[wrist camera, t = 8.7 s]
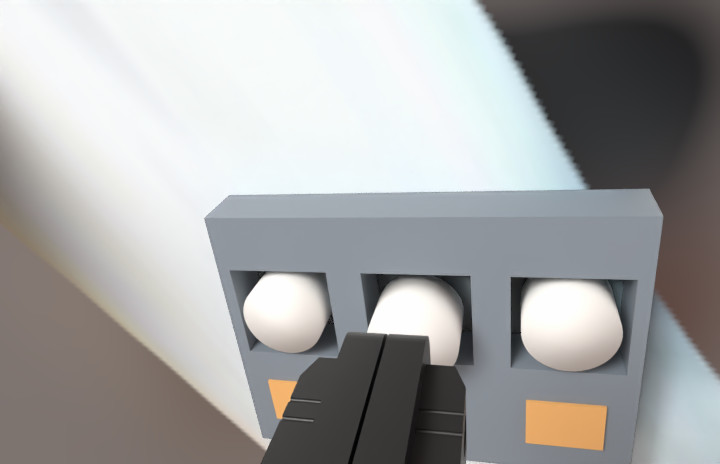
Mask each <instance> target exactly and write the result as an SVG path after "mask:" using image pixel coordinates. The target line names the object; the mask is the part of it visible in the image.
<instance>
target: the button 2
mask: <svg viewBox="0 0 720 464" xmlns="http://www.w3.org/2000/svg"><path fill="white" fill-rule="evenodd" d="M521 337H522V341H523V344H524V346H525V348H526V349H527V351H528V352H529V353H530V355H531V356H533V357H534V358H535V359H536V360H537V361H539V362H540V363H542V364H544V365H546V366H548V367H551V368H554V369H557V370H562V371H584V370H589V369H592V368H595V367H597V366H600V365H602V364H603V363H605V362H607V361H608V360H609V359H610V358H612V357H613V356H614V354H615V353H616V352H617V351H618V349H619V347H620V345H621V342H622V338H623V329H622V324H621V321H620V317H619V313H618V309H617V306H616V302H615V298H614V295H613V291H612V288H611V285H610V284H609V282H608V280H607V279H577V278H535V277H529V278H528V279H527V280H526V282H525V283H524V285H523V288H522V291H521Z"/></svg>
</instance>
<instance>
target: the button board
mask: <svg viewBox="0 0 720 464" xmlns="http://www.w3.org/2000/svg"><path fill="white" fill-rule="evenodd" d="M204 219H205V223H206V227H207V231H208V234H209V238H210V242H211V246H212V249H213V253H214V257H215V260H216V264H217V268H218V272H219V275H220V279H221V283H222V287H223V290H224V294H225V298H226V302H227V305H228V309H229V313H230V316H231V320H232V324H233V328H234V331H235V335H236V339H237V343H238V346H239V350H240V354H241V358H242V361H243V365H244V369H245V373H246V376H247V380H248V384H249V387H250V391H251V395H252V399H253V402H254V406H255V410H256V414H257V417H258V421H259V425H260V429H261V432H262V436H263V438H269V439H272V437H273V435H274V433H275V431H276V428H277V426H278V424H279V422H280V420H282V415H283V413H284V410H285V408H286V406H287V404H288V402H290V397H291V395H292V393H293V390H294V388H295V386H296V384H297V381H298V379H299V377H300V375H301V374H302V373H303V372H304V371H305V370H306V369H307V368H308V367H309V366H310V365H311V364H313V363H314V362H315V361H316V360H317V359H318V358H319V357H324V358H337V357H338V354H339V352H340V349H341V346H342V344H343V341H344V338H345V336H346V334H347V333H348V332H365V333H367V331H368V327H369V325H370V322H371V319H372V317H373V314H374V311H375V309H376V306H377V303H378V301H379V290H378V282H377V274H408V275H450V276H470V278H471V304H472V331H462V332H461V339H460V346H459V353H458V357H457V360H456V362H455V364H454V365H453V366H455V367H456V369H457V371H458V373H459V375H460V377H461V379H462V381H463V383H464V385H465V387H466V432H467V454H466V460H469V461H478V462H488V463H497V464H631V459H632V452H633V444H634V436H635V429H636V421H637V414H638V406H639V398H640V391H641V383H642V376H643V368H644V360H645V353H646V345H647V338H648V330H649V323H650V315H651V307H652V300H653V292H654V285H655V277H656V269H657V262H658V254H659V247H660V239H661V231H662V224H663V215H662V213H661V211H660V209H659V207H658V205H657V203H656V201H655V199H654V198H653V195H652V193H651V191H650V189H613V190H547V191H484V192H420V193H357V194H294V195H230V196H228V197H227V198H226V199H225V200H224V201H222V202H221V203H220V204H219V205H218V206H217V207H216V208H215V209H214V210H213V211H211V212H210V213H209V214H208V215H207V216H206V217H205V218H204ZM258 271H280V272H323V273H326V279H327V284H328V290H329V296H330V302H331V308H332V314H333V320H334V324H326V326H325V328H324V330H323V332H322V334H321V336H320V338H319V340H318V341H317V343H316V344H315V345H314V346H313V347H311V348H310V349H308V350H305V351H303V352H298V353H287V352H281V351H278V350H275V349H272V348H270V347H268V346H267V345H265V344H263V343H262V342H261V341H259V340H258V339H257V338H256V337H255V336H254V335H253V333H252V332H251V331H250V329H249V328H248V326H247V324H246V321H245V318H244V312H243V308H244V303H245V300H246V298H247V297H248V295H249V294H250V292H251V291H252V290H253V288H254V287H255V286H256V284H257V283H258V282H259V280H260V279H259V275H258ZM511 277H535V278H577V279H620V280H624V282H623V291H622V301H621V311H620V321H621V324H622V329H623V338H622V342H621V345H620V347H619V349H618V351H617V352H616V353H615V354H614V356H613V357H612V358H610V359H609V360H608V361H607V362H605V363H603V364H602V365H600V366H597V367H595V368H592V369H589V370H584V371H562V370H557V369H554V368H551V367H548V366H546V365H544V364H542V363H540V362H539V361H537V360H536V359H535V358H534V357H533V356H531V355H530V353H529V352H528V351H527V349H526V348H525V346H524V344H523V341H522V337H521V334H517V333H511Z"/></svg>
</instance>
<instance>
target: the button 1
mask: <svg viewBox="0 0 720 464" xmlns="http://www.w3.org/2000/svg"><path fill="white" fill-rule="evenodd" d="M243 312H244V318H245V321H246V324H247V326H248V328H249V329H250V331H251V332H252V333H253V335H254V336H255V337H256V338H257V339H258V340H259V341H261V342H262V343H263V344H265V345H267V346H268V347H270V348H272V349H275V350H278V351H281V352H287V353H298V352H303V351H305V350H308V349H310V348H311V347H313V346H314V345H315V344H316V343H317V341H318V340H319V338H320V336H321V334H322V332H323V330H324V328H325V326H326V324H327V322H328V320H329V318H330V315H331V313H332V308H331V302H330V296H329V290H328V284H327V279H326V273H323V272H280V271H266V272H265V274H264V275H263V276H262V278H261V279H260V280H259V282H258V283H257V284H256V286H255V287H254V288H253V290H252V291H251V292H250V294H249V295H248V297H247V298H246V300H245V303H244V308H243Z"/></svg>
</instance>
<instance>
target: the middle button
mask: <svg viewBox="0 0 720 464" xmlns="http://www.w3.org/2000/svg"><path fill="white" fill-rule="evenodd" d="M463 317H464V308H463V304H462V301H461V298H460V296H459V295H458V293H457V292H456V291H455V290H454V288H453V287H452V286H450V285H449V284H448V283H447V282H445V281H444V280H442V279H440V278H438V277H436V276H433V275H408V274H404V275H401V276H399V277H396V278H395V279H393V280H392V281H390V282H389V283H388V284H387V285H386V286H385V288H384V289H383V291H382V293H381V295H380V298H379V301H378V303H377V306H376V309H375V311H374V314H373V317H372V319H371V322H370V325H369V327H368V331H367V333H383V334H387V335H389V334H404V335H422V336H428V337H429V342H430V359H431V365H444V366H453V365H454V364H455V362H456V360H457V357H458V353H459V346H460V339H461V332H462V325H463Z"/></svg>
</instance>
